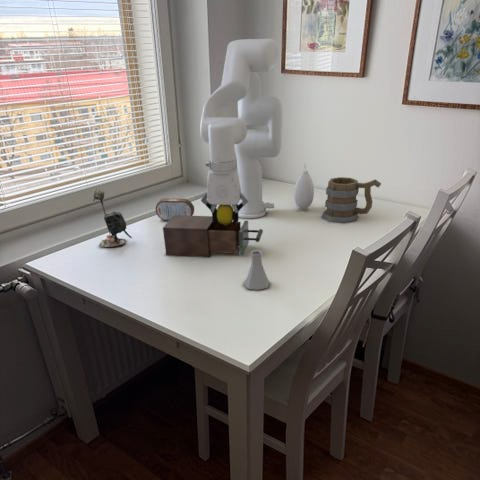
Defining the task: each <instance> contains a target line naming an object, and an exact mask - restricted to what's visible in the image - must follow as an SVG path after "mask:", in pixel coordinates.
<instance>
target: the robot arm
mask: <svg viewBox="0 0 480 480" xmlns="http://www.w3.org/2000/svg"><path fill="white" fill-rule="evenodd" d="M278 59H279V46H278V43H277V41H276V40H275V39H274V38H246V39H244V38H243V39H236V40H232V41H230V42H229V43H228V44H227V46H226V53H225V59H224V65H223V71H222V78H221V84H220V86H219V87H218V88H217V89H216V90H214V91H213V93H212V94H211V95H210V96H209V97H208V98H207V99H206V101H205V102H204V105H203V107H202V112H201V118H200V125H199V133H200V134H199V135H200V138H201V139H202V141H203V142H204V143H207V144H208V148H209V149H208V150H209V161H205V167H208V168H209V170H208V171H207V179H206V193H205V194H204V195H203V196H202V197H201V199H200V202H201V203H203V205H205V206H206V207H207V208H208V209H209V210H210V212H211V216H212V220H213V221H214V224H217V223H218V219H217V208H218V206H219V205H231V206H232V208H233V211H234V212H233V225H236V223H237V222H239V219H240V218H241V219H257V218H261V217H264V216H265V215H267V209H274V208H275V203H274V202H272V203H270V202H264V201H263V168H262V165H261V162H260V161H259V160H258V159H257V158H276V157H278V156H279V155H280V153H281V149H282V129H283V127H282V126H283V125H282V124H283V109H282V103H281V100H280V99H279V98H278V97H277V96H263V95H262V79H261V77H260V75H259V74H258V73H267V72H270V71H271V70H273V68H274V67H275V66H276V65H277V64H278ZM236 102H237V117H229V116H227V117H225V116H219V117H218V116H216V115H217V114H218V113H219V112H220V111H221V110H222V109H224V108H227V107H228V106H231V105H233V104H235V103H236ZM248 126H254V127H255V126H259V127H264V126H266V127H267V128H268V129H248Z"/></svg>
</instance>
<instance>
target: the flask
mask: <svg viewBox="0 0 480 480" xmlns="http://www.w3.org/2000/svg"><path fill="white" fill-rule="evenodd" d="M250 255H251V262H250V266H249V270H248V273H247V277H246V279H245V282H244V287H246V288H247V289H248V290H256V291H258V290H264V289H267V288H269V285H270V281H269V279H268V276H267V273H266V270H265V268H264V265H263V261H262V255H263V251H261V250H258V249H257V250H256V249H255V250H251V252H250Z"/></svg>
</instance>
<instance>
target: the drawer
mask: <svg viewBox="0 0 480 480" xmlns="http://www.w3.org/2000/svg"><path fill="white" fill-rule="evenodd" d="M263 232H264V229H262V228H259V229H258V230H257V229H249V220H244V221H243V223H241V221H238V222H237V223H236V225H233V221H232V222H231V223H230V224H228V225H227V226H224V225H223V224H221V223H220V222H219V221H218V223H217V224H214V222H213V223H212V225H211V226H210V228H209V229H208V240H209V252H212V253H218V254H219V253H220V254H221V253H222V254H237V252H238V250H239V256H244V254H245V252H246V250H247V247H248V245H249V243H250V241H255V242H256V243H259V242H260V240H261V237H262V235H263ZM250 233H256V237H250V236H249V235H250Z"/></svg>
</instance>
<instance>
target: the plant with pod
mask: <svg viewBox="0 0 480 480" xmlns="http://www.w3.org/2000/svg"><path fill="white" fill-rule="evenodd" d="M104 198H105V191H103V190H102V189H99V188H95V190H94V193H93V199H92V201H93V202H95V200H98V201H100V205H101V206H102V210H103V214H104V216H103V220H104V222H105V224H106V228H107V231H108V233H109V234H108V235H106V238H105V239H101V241H100V242H99V244H98V246H99V247H106V248H107V247H108V248H109V247H110V248H113V247H118V246H123V245H125V244H126V239H125V238H119V237H118V236H117V235H118V234H121V233H124V234H125V235H126V236H127V237H128V238H129V239H132V238H133V237H132V236H131V235H130V234H129V233H128V231H126V230H127V222H126V220H125V218H124V216H123V214H122V213H121V212H120V211H119V210H114V211H111V212H108V213H106V209H105V206H104V202H103V200H104Z"/></svg>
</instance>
